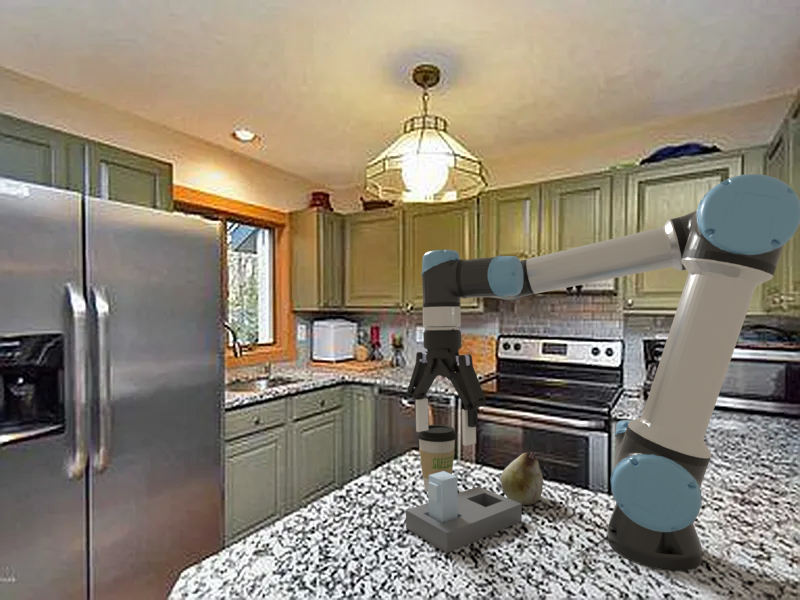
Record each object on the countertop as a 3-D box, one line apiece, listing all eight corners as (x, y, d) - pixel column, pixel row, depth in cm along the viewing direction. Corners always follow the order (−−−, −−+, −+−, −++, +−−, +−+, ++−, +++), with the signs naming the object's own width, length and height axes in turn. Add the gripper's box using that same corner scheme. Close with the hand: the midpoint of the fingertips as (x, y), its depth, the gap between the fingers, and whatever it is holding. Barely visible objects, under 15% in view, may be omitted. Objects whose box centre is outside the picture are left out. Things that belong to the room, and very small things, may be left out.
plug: (457, 533, 88) (457, 476, 88) (439, 541, 85) (439, 481, 85) (443, 526, 91) (443, 470, 91) (425, 533, 88) (425, 475, 88)
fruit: (540, 514, 98) (539, 458, 98) (497, 507, 101) (496, 453, 102) (545, 497, 107) (544, 445, 107) (505, 490, 111) (504, 441, 111)
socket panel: (521, 523, 93) (521, 503, 93) (446, 555, 80) (446, 532, 81) (478, 504, 103) (478, 486, 103) (405, 530, 90) (405, 510, 90)
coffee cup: (455, 499, 105) (455, 434, 106) (414, 496, 107) (413, 432, 108) (458, 484, 115) (458, 425, 115) (420, 481, 117) (420, 423, 117)
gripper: (503, 328, 82) (507, 446, 81) (417, 328, 102) (418, 423, 101) (474, 329, 77) (478, 455, 76) (390, 329, 97) (391, 428, 96)
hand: (444, 437), depth 89 cm, fingers open, 13 cm apart
